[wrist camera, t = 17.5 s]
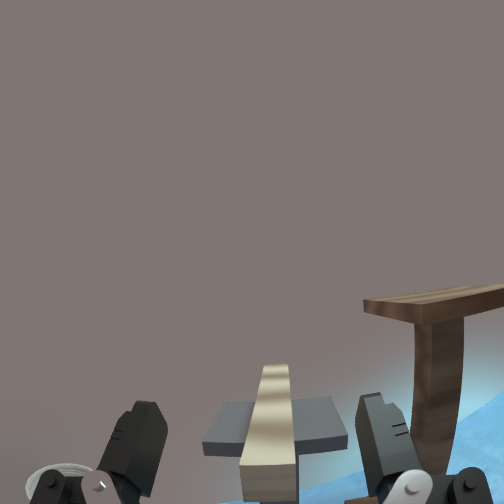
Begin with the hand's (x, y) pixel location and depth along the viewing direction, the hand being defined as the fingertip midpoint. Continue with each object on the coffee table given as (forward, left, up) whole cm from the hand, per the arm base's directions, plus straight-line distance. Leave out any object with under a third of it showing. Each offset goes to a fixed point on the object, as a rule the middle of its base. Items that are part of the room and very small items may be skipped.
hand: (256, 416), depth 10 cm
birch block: (-6, -14, -8) cm, 17 cm away
